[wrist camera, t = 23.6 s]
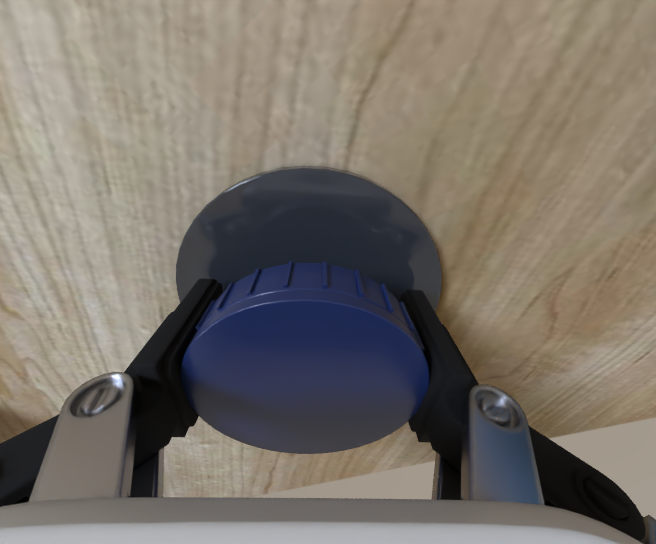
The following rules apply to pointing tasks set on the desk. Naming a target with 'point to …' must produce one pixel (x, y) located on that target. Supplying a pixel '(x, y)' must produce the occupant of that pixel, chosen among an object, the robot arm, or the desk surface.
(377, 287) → the lid
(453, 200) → the desk surface
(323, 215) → the coaster
